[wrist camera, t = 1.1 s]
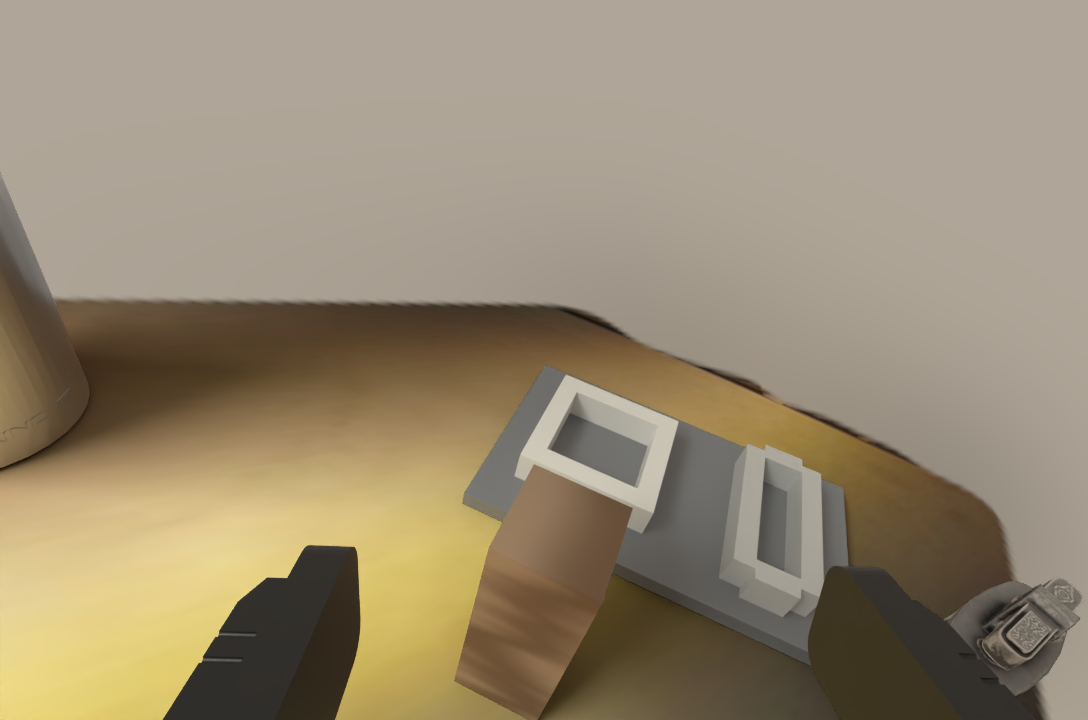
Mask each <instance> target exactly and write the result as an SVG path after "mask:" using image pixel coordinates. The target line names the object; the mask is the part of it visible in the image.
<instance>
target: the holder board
mask: <svg viewBox="0 0 1088 720" xmlns="http://www.w3.org/2000/svg"><path fill="white" fill-rule="evenodd" d="M534 464H535V465H537V466H539V467H542V468H544V469H546V470H548V471H551V472H553V473H555V474H557V475H560V476H562V477H564V478H566V479H569V480H571V481H573V482H575V483H578V484H580V485H582V486H584V487H587V488H589V489H591V490H593V491H596V492H598V493H600V494H602V495H605V496H607V497H609V498H611V499H614V500H616V501H618V502H620V503H623V504H625V505H627V506H629V507H632V508H633V509H632V513H631V516H630V519H629V522H628V525H627V528H626V532H625V535H624V538H623V541H622V544H621V548H620V551H619V554H618V557H617V560H616V563H615V567H614V570H613V574H615V575H617V576H619V577H621V578H623V579H626V580H628V581H630V582H632V583H634V584H636V585H638V586H641V587H643V588H645V589H647V590H649V591H651V592H653V593H656V594H658V595H660V596H662V597H664V598H666V599H668V600H671V601H673V602H675V603H677V604H679V605H681V606H683V607H686V608H688V609H690V610H692V611H694V612H696V613H698V614H701V615H703V616H705V617H707V618H709V619H711V620H713V621H716V622H718V623H720V624H722V625H724V626H726V627H728V628H731V629H733V630H735V631H737V632H739V633H741V634H743V635H746V636H748V637H750V638H752V639H754V640H756V641H758V642H761V643H763V644H765V645H767V646H769V647H771V648H773V649H776V650H778V651H780V652H782V653H784V654H786V655H788V656H791V657H793V658H795V659H797V660H799V661H801V662H803V663H806V664H808V665H810V666H811V663H810V659H809V653H808V635H809V631H810V627H811V624H812V621H813V617H814V614H815V610H816V607H817V604H818V600H819V597H820V593H821V590H822V587H823V583H824V580H825V576H826V574H827V572H828V570H829V569H830V568H831V567H833V566H849V565H848V550H847V535H846V520H845V505H844V490H843V488H842V487H839V486H837V485H834V484H832V483H829V482H827V481H825V480H822V479H821V474H820V473H818V472H816V471H813V470H811V469H808V468H806V467H803V466H802V459H800V458H797V457H795V456H792V455H790V454H787V453H785V452H783V451H780V450H778V449H775V448H773V447H770V446H768V445H766V446H765V447H764V449H763V450H762V449H760V448H757V447H755V446H753V445H750V444H747V445H746V447H743V446H740V445H738V444H735V443H733V442H731V441H728V440H726V439H723V438H721V437H718V436H716V435H714V434H711V433H709V432H706V431H704V430H702V429H699V428H697V427H694V426H692V425H690V424H687V423H685V422H682V421H680V420H677V419H675V418H673V417H670V416H668V415H665V414H663V413H661V412H658V411H656V410H653V409H651V408H649V407H646V406H644V405H641V404H639V403H636V402H634V401H632V400H629V399H627V398H624V397H622V396H620V395H617V394H615V393H612V392H610V391H607V390H605V389H603V388H600V387H598V386H595V385H593V384H591V383H588V382H586V381H583V380H581V379H579V378H576V377H574V376H571V375H569V374H566V373H564V372H562V371H559V370H557V369H554V368H552V367H550V366H547V365H545V367H544V369H543V370H542V372H541V373H540V375H539V376H538V378H537V380H536V381H535V383H534V384H533V386H532V387H531V389H530V391H529V392H528V394H527V395H526V397H525V398H524V400H523V402H522V403H521V405H520V406H519V408H518V409H517V411H516V413H515V414H514V416H513V417H512V419H511V420H510V422H509V424H508V425H507V427H506V428H505V430H504V431H503V433H502V435H501V436H500V438H499V439H498V441H497V442H496V444H495V446H494V447H493V449H492V450H491V452H490V453H489V455H488V457H487V458H486V460H485V461H484V463H483V464H482V466H481V468H480V469H479V471H478V472H477V474H476V476H475V477H474V479H473V480H472V482H471V483H470V485H469V487H468V488H467V490H466V491H465V493H464V498H463V504H465V505H467V506H469V507H471V508H474V509H476V510H478V511H480V512H482V513H484V514H486V515H489V516H491V517H493V518H495V519H497V520H499V521H501V522H503V521H504V519H505V517H506V515H507V513H508V512H509V510H510V508H511V506H512V504H513V502H514V500H515V498H516V497H517V495H518V493H519V491H520V489H521V487H522V485H523V484H524V482H525V480H526V478H527V476H528V474H529V472H530V470H531V469H532V467H533V465H534Z"/></svg>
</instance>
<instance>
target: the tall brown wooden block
mask: <svg viewBox="0 0 1088 720" xmlns="http://www.w3.org/2000/svg"><path fill="white" fill-rule="evenodd" d="M632 509H633V508H632V507H629V506H627V505H625V504H623V503H620V502H618V501H616V500H614V499H611V498H609V497H607V496H605V495H602V494H600V493H598V492H596V491H593V490H591V489H589V488H587V487H584V486H582V485H580V484H578V483H575V482H573V481H571V480H569V479H566V478H564V477H562V476H560V475H557V474H555V473H553V472H551V471H548V470H546V469H544V468H542V467H539V466H537V465H535V464H534V465H533V467H532V469H531V470H530V472H529V474H528V476H527V478H526V480H525V482H524V484H523V485H522V487H521V489H520V491H519V493H518V495H517V497H516V498H515V500H514V502H513V504H512V506H511V508H510V510H509V512H508V513H507V515H506V517H505V519H504V521H503V523H502V525H501V526H500V528H499V530H498V532H497V534H496V536H495V538H494V540H493V541H492V543H491V545H490V547H489V550H488V553H487V557H486V561H485V565H484V569H483V573H482V576H481V580H480V584H479V588H478V592H477V596H476V599H475V603H474V607H473V611H472V615H471V619H470V622H469V626H468V630H467V634H466V638H465V642H464V645H463V649H462V653H461V657H460V661H459V665H458V668H457V672H456V676H455V680H454V681H455V682H457V683H459V684H461V685H463V686H465V687H467V688H469V689H471V690H473V691H475V692H476V693H478V694H480V695H482V696H484V697H486V698H488V699H490V700H492V701H494V702H496V703H498V704H499V705H501V706H503V707H505V708H507V709H509V710H511V711H513V712H515V713H517V714H519V715H521V716H522V717H524V718H526V719H528V720H538V718H539V717H540V715H541V713H542V711H543V709H544V708H545V706H546V704H547V702H548V700H549V699H550V697H551V695H552V693H553V692H554V690H555V688H556V686H557V684H558V683H559V681H560V679H561V677H562V675H563V674H564V672H565V670H566V668H567V666H568V665H569V663H570V661H571V659H572V658H573V656H574V654H575V652H576V650H577V649H578V647H579V645H580V643H581V641H582V640H583V638H584V636H585V634H586V632H587V631H588V629H589V627H590V625H591V624H592V622H593V620H594V618H595V616H596V615H597V613H598V611H599V609H600V607H601V606H602V604H603V602H604V598H605V595H606V592H607V589H608V586H609V582H610V579H611V576H612V573H613V570H614V567H615V563H616V560H617V557H618V554H619V551H620V548H621V544H622V541H623V538H624V535H625V532H626V528H627V525H628V522H629V519H630V516H631V513H632Z"/></svg>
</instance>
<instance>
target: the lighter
mask: <svg viewBox="0 0 1088 720" xmlns="http://www.w3.org/2000/svg"><path fill="white" fill-rule="evenodd" d="M1083 602H1084V597H1083V595H1082V594H1081V592H1080V591H1078V590H1077V589H1076V588H1075V587H1074V586H1073V585H1072V584H1070V583H1069V582H1068V581H1066V580H1065V579H1063V578H1061V577H1055V578H1053V579H1052V580H1050V581H1049V582H1047V583H1046V584H1044V585H1043V586H1042V585H1041V584H1040V585H1038V586H1036V587H1034V588H1031V587H1030V586H1028V585H1026V584H1023V583H1020V582H1017V581H1009V582H1006V583H1003V584H1000V585H998V586H995V587H992V588H989V589H987V590H986V591H984V592H983V593H981V594H980V595H978V596H976V597H975V598H973V599H972V600H970V601H969V602H967V603H966V604H964V605H963V606H962V607H960V608H959V609H958V610H957V611H956V612H955V613H953V614H952V615H950V616H949V617H947V618H945V619H944V621H946V622H947V623H948V624H950V625H951V626H952V627H953V628H954V629H955V631H956V632H957V633H958V634H959V635H960V636H961V637H962V638H963V639H964V640H965V642H966V643H967V644H968V645H969V646H970V647H971V648H972V649H973V650H974V651H975V653H976V656H977V659H981V660H983V661H984V662H985V664H986V665H987V666H988V667H989V668H990V669H991V670H992V671H993V672H994V673H995V674H996V676H997V677H998V678H999V683H1000V684H1003V685H1006V687H1007V688H1008V689H1009V690H1010V691H1011V692H1012V693H1013V694H1014V695H1015V696H1017V695H1019V694H1021V693H1023V692H1025V691H1026V690H1028V689H1030V688H1031V687H1032V686H1033V685H1035V684H1036V683H1037V682H1038V681H1039V680H1041V679H1042V678H1043V677H1044V676H1045V675H1047V674H1048V672H1049V671H1050V669H1051V668H1052V666H1053V664H1054V663H1055V661H1056V660H1057V658H1058V656H1059V655H1060V653H1061V650H1062V647H1063V643H1064V640H1065V637H1066V634H1067V630H1069V629H1070V628H1071V627H1072V626H1074V625H1075V624H1076V623H1077V622H1078V621H1079V620H1080V617H1078V616H1077V615H1076V614H1075V613H1074V612H1075V611H1076V610H1077V608H1078V607H1080V605H1081V604H1082V603H1083Z"/></svg>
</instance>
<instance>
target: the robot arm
mask: <svg viewBox="0 0 1088 720" xmlns="http://www.w3.org/2000/svg"><path fill="white" fill-rule="evenodd" d="M89 396H90V391H89V383H88V381H87V379H86V376H85V374H84V372H83V369H82V367H81V364H80V362H79V360H78V357H77V355H76V353H75V350H74V348H73V345H72V343H71V341H70V338H69V336H68V333H67V330H66V328H65V325H64V323H63V321H62V318H61V316H60V313H59V311H58V309H57V306H56V304H55V302H54V299H53V297H52V294H51V292H50V290H49V287H48V285H47V283H46V280H45V278H44V276H43V273H42V271H41V268H40V266H39V263H38V261H37V259H36V256H35V254H34V252H33V250H32V247H31V244H30V242H29V240H28V237H27V235H26V233H25V230H24V228H23V225H22V223H21V221H20V218H19V216H18V214H17V211H16V209H15V207H14V204H13V202H12V199H11V197H10V194H9V192H8V190H7V187H6V185H5V183H4V181H3V178H2V175H1V173H0V468H1V467H5V466H7V465H10V464H12V463H14V462H17V461H19V460H22V459H24V458H26V457H29V456H31V455H33V454H34V453H36V452H38V451H40V450H41V449H43V448H45V447H47V446H49V445H50V444H52V443H53V442H54V441H56V440H57V439H58V438H60V437H61V436H62V435H64V434H65V433H66V432H67V431H68V430H69V429H70V428H71V427H72V426H73V425H74V424H75V423H76V422H77V421H78V420H79V419H80V417H81V415H82V414H83V412H84V410H85V409H86V407H87V404H88V400H89ZM359 635H360V599H359V578H358V558H357V551H356V549H355V547H343V546H315V545H308V546H306V547H305V548H304V550H303V551H302V553H301V554H300V556H299V558H298V560H297V562H296V563H295V565H294V567H293V569H292V571H291V572H290V574H289V576H288V578H266V579H265V580H264V581H263V582H261V583H260V584H259V585H258V586H256V587H255V588H254V589H253V590H252V591H250V592H249V593H248V594H247V595H246V596H244V597H243V598H242V599H241V600H239V601H238V602H237V604H236V606H235V607H234V609H233V610H232V612H231V613H230V615H229V617H228V618H227V620H226V621H225V623H224V624H223V626H222V628H221V629H220V631H219V636H218V637H215V639H214V640H213V642H212V643H211V645H210V646H209V648H208V650H207V651H206V653H205V654H204V656H203V661H202V663H199V664H198V665H197V667H196V668H195V670H194V671H193V673H192V675H191V676H190V678H189V679H188V681H187V682H186V684H185V686H184V687H183V689H182V690H181V692H180V693H179V695H178V697H177V698H176V700H175V701H174V703H173V704H172V706H171V708H170V709H169V711H168V712H167V714H166V715H165V717H164V719H163V720H335V718H336V715H337V712H338V709H339V706H340V703H341V700H342V697H343V694H344V691H345V688H346V685H347V682H348V679H349V676H350V673H351V670H352V667H353V664H354V660H355V657H356V652H357V648H358V642H359ZM808 653H809V659H810V663H811V666H812V669H813V671H814V674H815V676H816V678H817V679H818V681H819V683H820V685H821V687H822V688H823V690H824V692H825V694H826V695H827V697H828V699H829V701H830V703H831V704H832V706H833V708H834V710H835V711H836V713H837V715H838V717H839V719H840V720H1037V719H1036V718H1035V717H1034V716H1033V715H1032V714H1031V713H1030V712H1029V711H1028V710H1027V709H1026V707H1025V706H1024V705H1023V704H1022V703H1021V702H1020V701H1019V700H1018V699H1017V698H1016V696H1015V695H1014V694H1013V693H1012V692H1011V691H1010V690H1009V689H1008V688H1007V687H1006V685H1003V684H1000V683H999V678H998V677H997V676H996V674H995V673H994V672H993V671H992V670H991V669H990V668H989V667H988V666H987V665H986V664H985V662H984V661H983V660H981V659H977V656H976V653H975V651H974V650H973V649H972V648H971V647H970V646H969V645H968V644H967V643H966V642H965V640H964V639H963V638H962V637H961V636H960V635H959V634H958V633H957V632H956V631H955V629H954V628H953V627H952V626H951V625H950V624H948V623H947V622H946V621H944V620H943V619H941V618H940V617H939V616H937V615H936V614H935V613H933V612H932V611H930V610H929V609H928V608H926V607H925V606H923V605H922V604H921V603H919V602H918V601H917V600H911V599H910V598H909V596H908V595H907V594H906V593H905V592H904V591H903V590H902V588H901V587H900V586H899V585H898V584H897V583H896V582H895V580H894V579H893V578H892V577H891V576H890V575H889V574H888V573H887V572H886V571H885V570H883V569H881V568H878V567H858V566H833V567H831V568H830V569H829V570H828V572H827V574H826V576H825V580H824V583H823V587H822V590H821V593H820V597H819V600H818V604H817V607H816V610H815V614H814V617H813V621H812V624H811V627H810V631H809V635H808Z"/></svg>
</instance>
